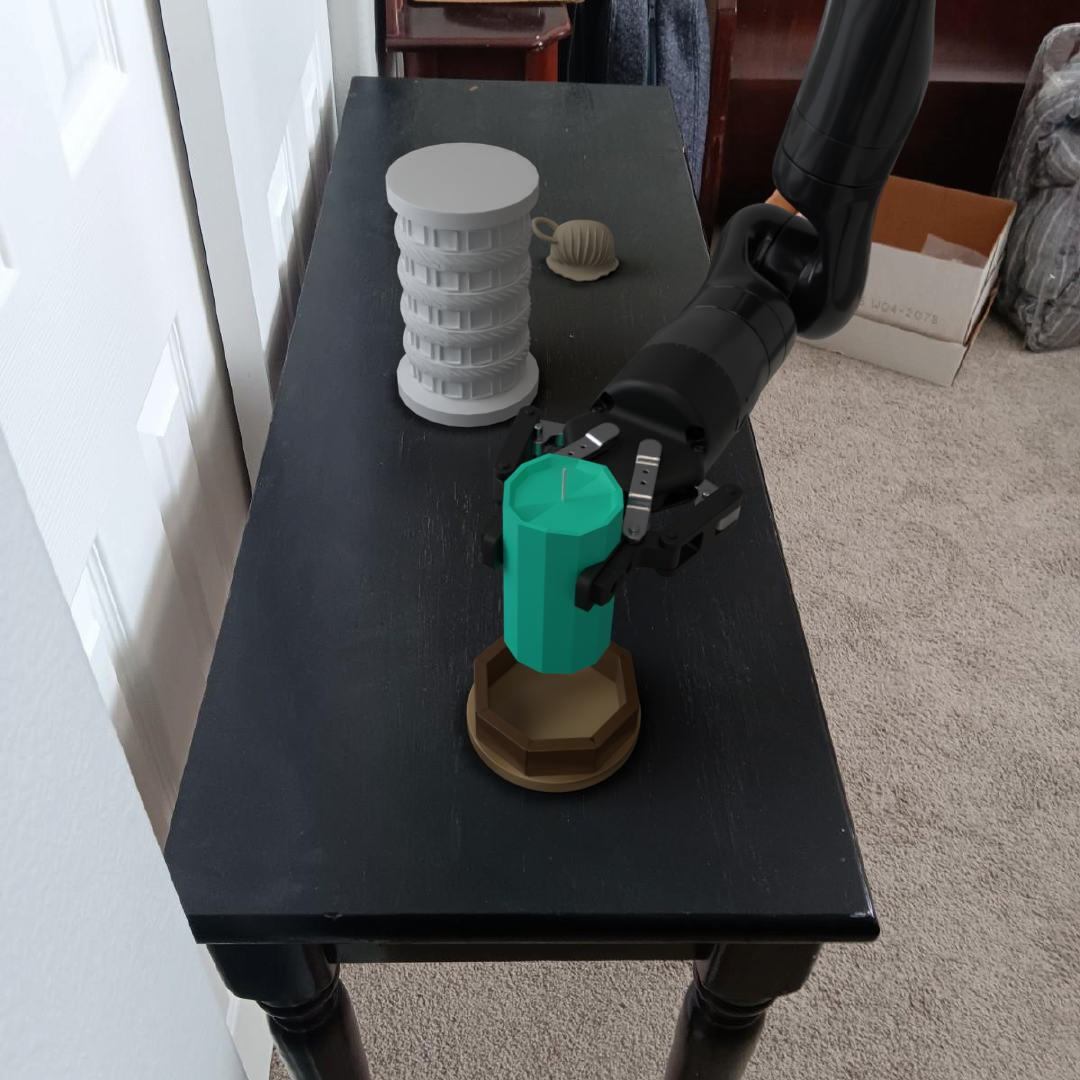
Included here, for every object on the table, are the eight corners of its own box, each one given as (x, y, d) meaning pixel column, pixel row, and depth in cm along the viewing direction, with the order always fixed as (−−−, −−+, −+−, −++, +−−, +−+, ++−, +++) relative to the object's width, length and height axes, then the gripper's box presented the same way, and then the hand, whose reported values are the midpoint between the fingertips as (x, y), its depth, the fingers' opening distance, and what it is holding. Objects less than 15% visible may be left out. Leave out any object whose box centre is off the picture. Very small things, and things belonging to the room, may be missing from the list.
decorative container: (467, 446, 83) (460, 233, 70) (368, 383, 88) (345, 175, 76) (567, 383, 89) (577, 176, 76) (469, 327, 94) (463, 126, 82)
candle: (595, 686, 57) (610, 525, 48) (488, 659, 58) (484, 497, 49) (622, 605, 61) (640, 443, 52) (521, 581, 62) (522, 419, 54)
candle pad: (673, 712, 65) (680, 676, 63) (564, 826, 60) (566, 792, 57) (544, 625, 70) (545, 589, 68) (431, 723, 64) (427, 687, 62)
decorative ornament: (618, 283, 100) (623, 231, 96) (529, 279, 100) (530, 226, 97) (618, 261, 103) (622, 209, 99) (531, 257, 103) (532, 205, 99)
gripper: (580, 305, 63) (410, 468, 53) (811, 384, 58) (673, 582, 48) (575, 406, 68) (419, 572, 58) (786, 487, 63) (657, 685, 53)
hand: (535, 575), depth 53 cm, fingers closed on candle, 4 cm apart
